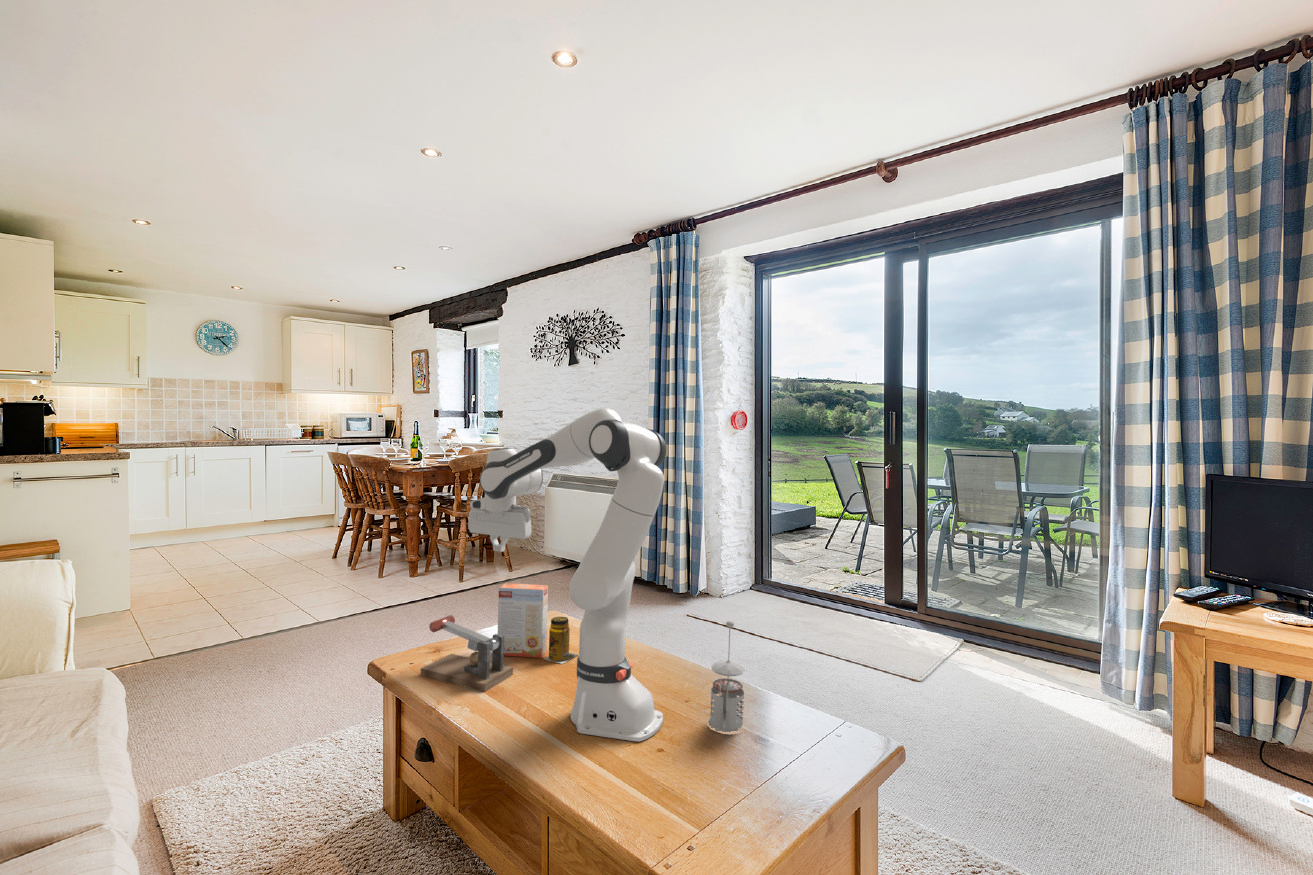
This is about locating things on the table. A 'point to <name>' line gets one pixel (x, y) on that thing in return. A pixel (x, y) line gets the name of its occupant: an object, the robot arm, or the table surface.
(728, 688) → the french press
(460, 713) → the table surface
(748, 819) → the table surface
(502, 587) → the cracker box
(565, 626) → the condiment
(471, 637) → the lever
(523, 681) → the table surface
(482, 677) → the tabletop arbor press
